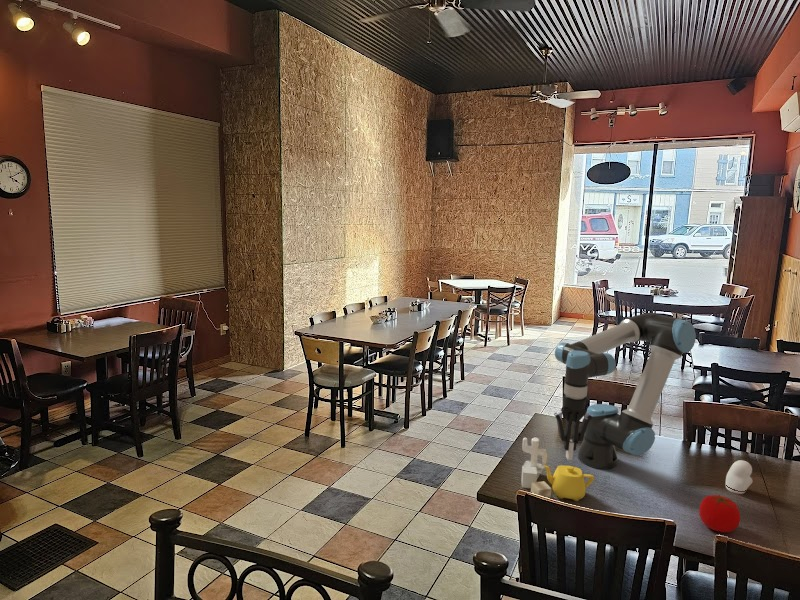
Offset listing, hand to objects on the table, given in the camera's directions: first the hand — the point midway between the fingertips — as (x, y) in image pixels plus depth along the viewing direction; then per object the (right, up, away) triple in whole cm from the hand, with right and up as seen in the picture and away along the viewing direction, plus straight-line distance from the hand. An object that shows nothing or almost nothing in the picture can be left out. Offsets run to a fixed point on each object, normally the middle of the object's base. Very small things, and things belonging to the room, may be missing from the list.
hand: (569, 458), depth 187 cm
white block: (-12, -12, +9) cm, 19 cm away
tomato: (+44, -18, -14) cm, 50 cm away
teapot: (0, -14, +3) cm, 14 cm away
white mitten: (+65, -14, +8) cm, 67 cm away
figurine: (-9, -11, +15) cm, 21 cm away
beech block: (-10, -14, 0) cm, 17 cm away
